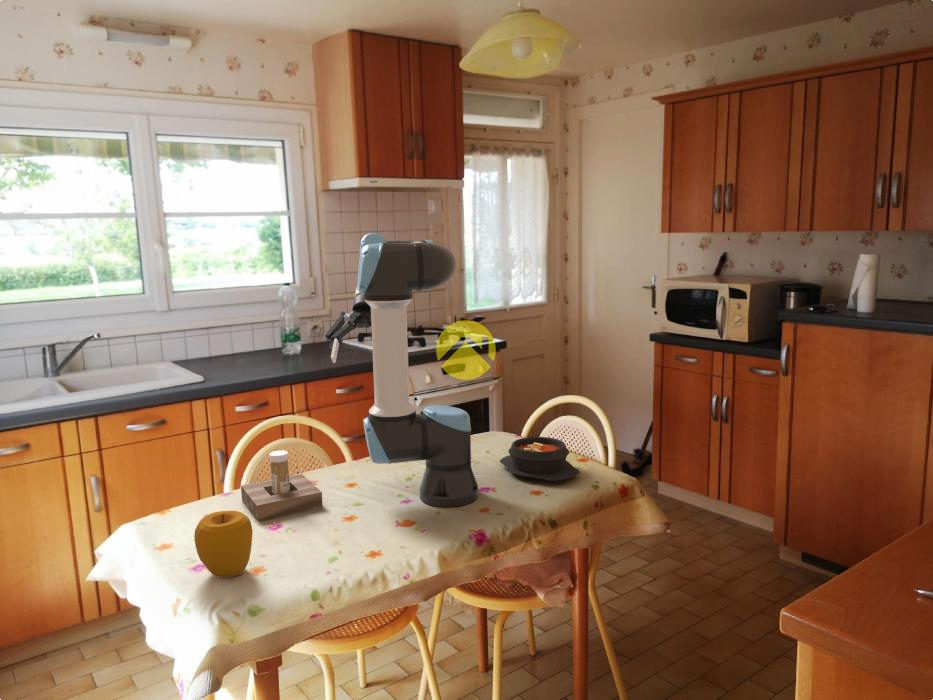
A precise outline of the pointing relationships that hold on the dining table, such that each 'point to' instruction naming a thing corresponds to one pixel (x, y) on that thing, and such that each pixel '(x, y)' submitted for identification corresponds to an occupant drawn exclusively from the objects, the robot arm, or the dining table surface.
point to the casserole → (539, 459)
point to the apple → (224, 542)
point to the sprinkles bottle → (279, 472)
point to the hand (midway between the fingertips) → (357, 360)
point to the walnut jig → (281, 498)
